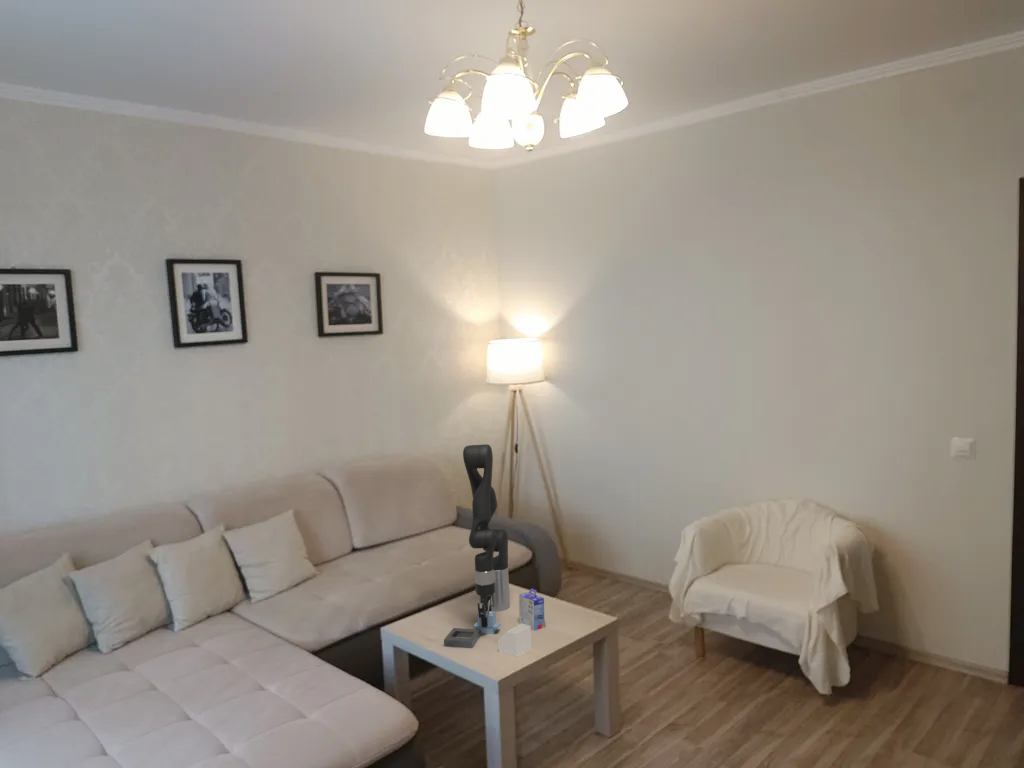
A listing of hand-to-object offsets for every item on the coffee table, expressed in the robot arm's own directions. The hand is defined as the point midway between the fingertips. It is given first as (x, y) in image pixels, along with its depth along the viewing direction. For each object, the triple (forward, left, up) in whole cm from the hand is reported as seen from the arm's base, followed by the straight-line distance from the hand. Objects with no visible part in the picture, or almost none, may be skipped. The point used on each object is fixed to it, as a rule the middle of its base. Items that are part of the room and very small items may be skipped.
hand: (487, 623), depth 274 cm
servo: (0, 0, -4) cm, 4 cm away
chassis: (+9, -7, -4) cm, 12 cm away
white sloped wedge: (+10, +16, -4) cm, 19 cm away
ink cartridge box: (-8, +16, -4) cm, 18 cm away
